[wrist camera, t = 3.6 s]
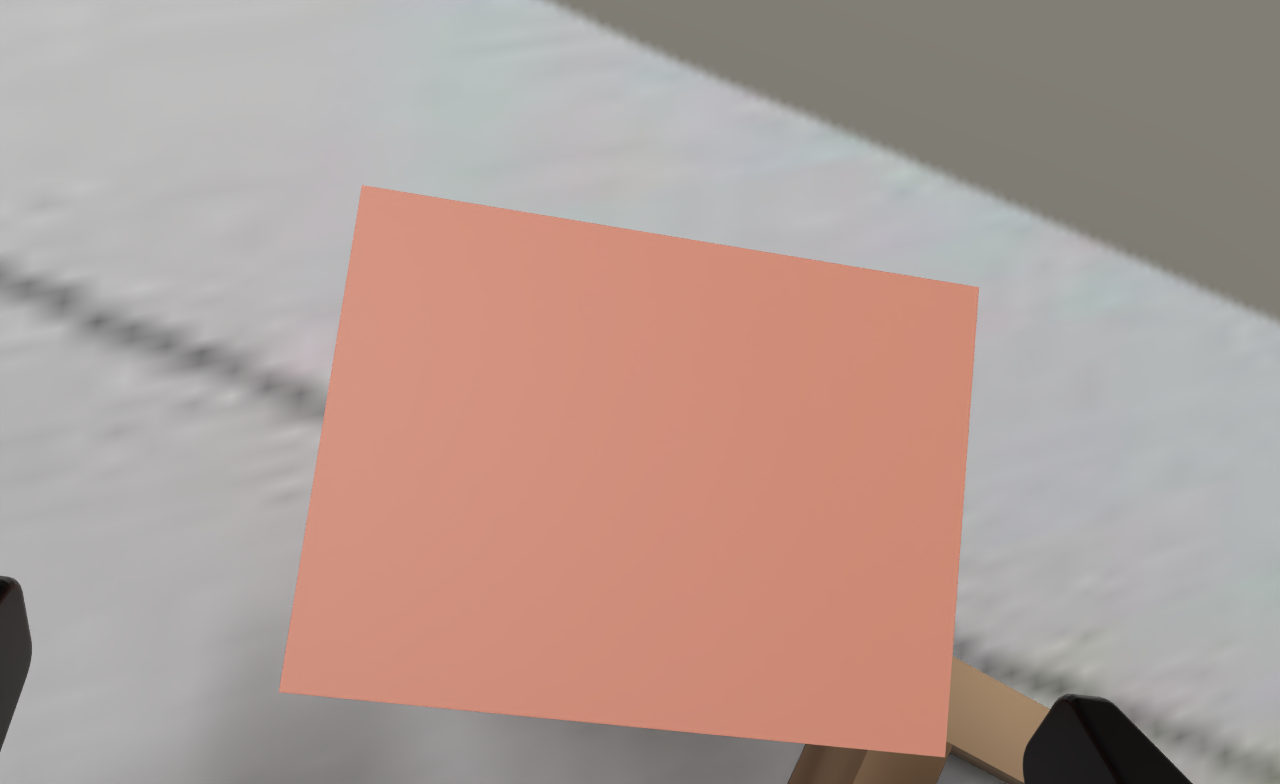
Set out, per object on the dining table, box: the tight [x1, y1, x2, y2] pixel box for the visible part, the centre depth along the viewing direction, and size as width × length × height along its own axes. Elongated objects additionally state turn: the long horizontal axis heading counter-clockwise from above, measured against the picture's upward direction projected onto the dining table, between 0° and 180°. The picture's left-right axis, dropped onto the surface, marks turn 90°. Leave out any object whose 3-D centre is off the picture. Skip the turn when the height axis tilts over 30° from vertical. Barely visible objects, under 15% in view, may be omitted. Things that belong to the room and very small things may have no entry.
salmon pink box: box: [279, 185, 979, 757], centre depth 13 cm, size 3×4×12 cm
